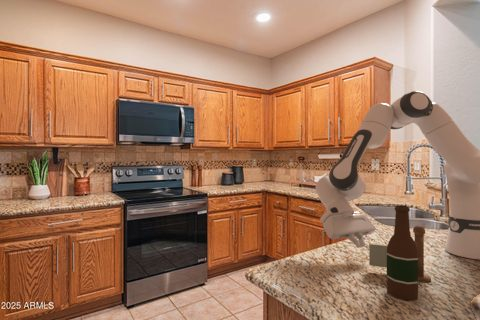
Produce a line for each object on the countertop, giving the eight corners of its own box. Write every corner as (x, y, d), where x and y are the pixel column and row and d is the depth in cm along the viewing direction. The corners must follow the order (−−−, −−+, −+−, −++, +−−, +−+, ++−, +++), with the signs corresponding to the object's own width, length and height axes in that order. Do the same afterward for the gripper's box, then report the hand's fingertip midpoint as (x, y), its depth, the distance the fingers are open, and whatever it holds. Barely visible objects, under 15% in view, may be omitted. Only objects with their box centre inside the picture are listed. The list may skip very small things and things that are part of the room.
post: (420, 273, 88) (420, 223, 88) (435, 281, 82) (435, 227, 82) (403, 274, 87) (403, 223, 87) (418, 282, 81) (417, 228, 81)
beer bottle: (424, 303, 69) (424, 209, 69) (391, 300, 71) (391, 207, 71) (412, 289, 77) (411, 204, 77) (382, 286, 78) (382, 203, 79)
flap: (411, 269, 86) (411, 247, 86) (412, 271, 85) (412, 248, 85) (369, 264, 90) (369, 243, 90) (369, 265, 89) (369, 244, 89)
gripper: (357, 216, 110) (377, 247, 101) (316, 219, 102) (334, 254, 93) (366, 206, 106) (388, 238, 97) (324, 210, 98) (344, 245, 89)
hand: (361, 246), depth 95 cm, fingers closed
